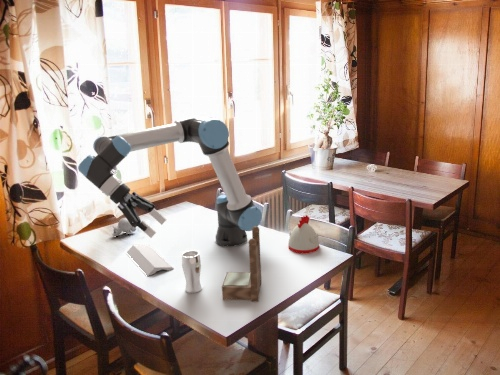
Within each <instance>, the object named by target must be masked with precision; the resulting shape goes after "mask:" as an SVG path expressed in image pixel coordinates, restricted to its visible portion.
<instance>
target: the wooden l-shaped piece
mask: <svg viewBox="0 0 500 375" xmlns="http://www.w3.org/2000/svg"><path fill="white" fill-rule="evenodd" d="M251 232H252V238H250V239H249V240H248V253H249V254H248V256H249V272H245V271H243V272H241V271H240V272H239V271H234V272H233V271H226V274H225V277H224V279H223V283H222V286H221V292H222V295H221V296H222V300H236V301H237V300H243V301H245V300H246V301H251V302H256V303H257V302H259V299H260V298H259V297H260V296H259V294H260V288H261V286H262V269H261V268H262V266H261V245H260V244H261V243H260V241H261V240H260V228H259V226H258V227H257V226H254V227H253V228H252V231H251Z"/></svg>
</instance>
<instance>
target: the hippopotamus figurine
mask: <svg viewBox="0 0 500 375" xmlns="http://www.w3.org/2000/svg"><path fill="white" fill-rule="evenodd" d="M112 228H113V230H112V231H113V232H110V233H111V236H113V237H114V236H118V235H119V236H120V234H122V232H123V233H124V232H126V234H125V235H127V234H130V233H131V234H132V233H133V232H135V231H136V230H137V227H136V228H134V227H132V226H131V224H130V223H129V221H128V220H127V218H126V217H122V218H120V219H119V221H118V223H117V226H112ZM131 234H130V235H131ZM119 236H118V237H119Z"/></svg>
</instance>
